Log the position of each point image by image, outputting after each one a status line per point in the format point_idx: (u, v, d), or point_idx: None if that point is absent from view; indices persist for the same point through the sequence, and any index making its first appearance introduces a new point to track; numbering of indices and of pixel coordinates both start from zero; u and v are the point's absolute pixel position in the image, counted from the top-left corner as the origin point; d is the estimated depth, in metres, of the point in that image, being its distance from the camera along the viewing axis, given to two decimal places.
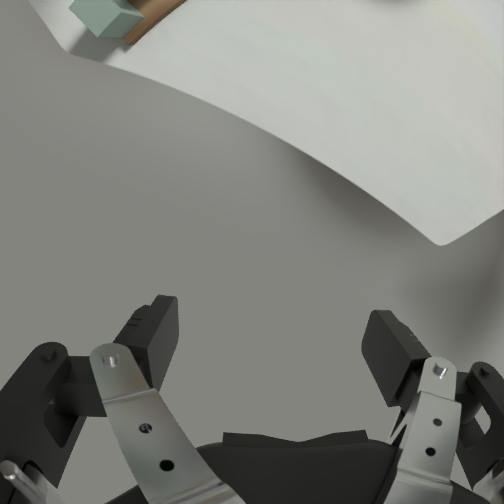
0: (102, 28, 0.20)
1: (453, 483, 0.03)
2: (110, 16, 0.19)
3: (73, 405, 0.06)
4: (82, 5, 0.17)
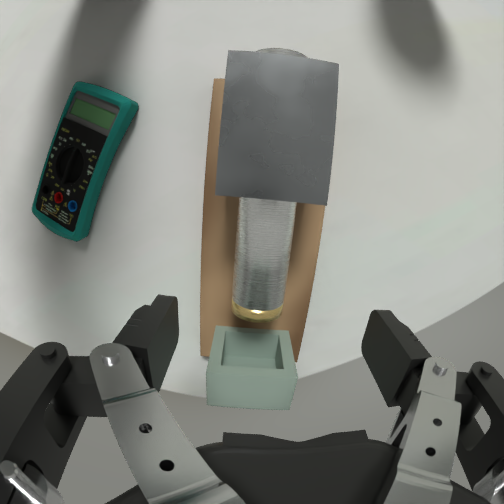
0: (288, 401, 0.21)
1: (453, 483, 0.03)
2: (286, 388, 0.21)
3: (73, 405, 0.06)
4: (227, 396, 0.21)
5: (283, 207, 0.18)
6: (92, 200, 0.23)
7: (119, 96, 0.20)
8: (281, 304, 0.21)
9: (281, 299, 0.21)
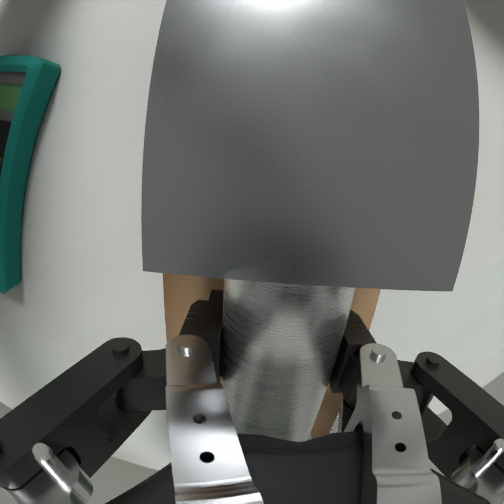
0: None
1: (453, 483, 0.03)
2: None
3: (144, 399, 0.07)
4: None
5: None
6: (8, 228, 0.12)
7: (28, 58, 0.08)
8: (308, 435, 0.10)
9: (309, 431, 0.10)
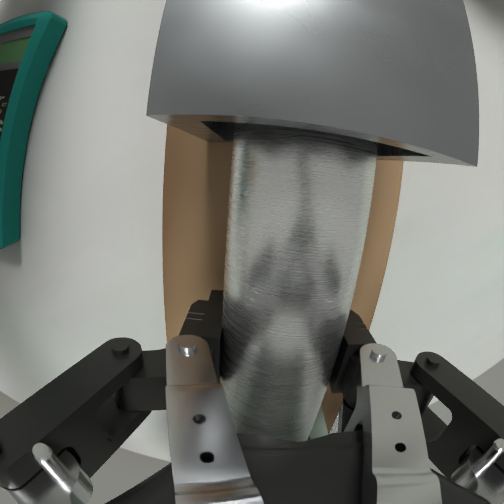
0: None
1: (453, 483, 0.03)
2: None
3: (144, 399, 0.07)
4: None
5: (337, 284, 0.07)
6: (9, 174, 0.11)
7: (37, 13, 0.07)
8: (308, 435, 0.10)
9: (309, 431, 0.10)
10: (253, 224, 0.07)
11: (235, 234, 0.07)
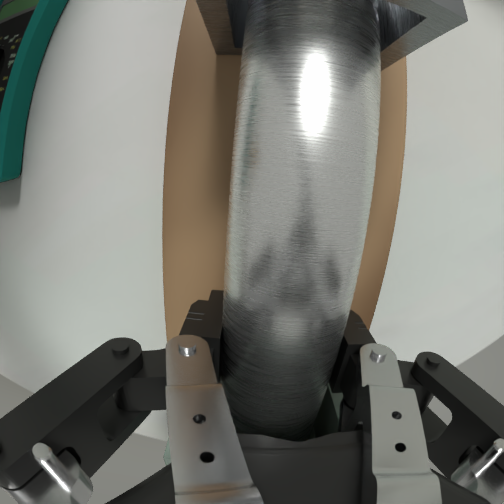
0: None
1: (453, 483, 0.03)
2: None
3: (144, 400, 0.07)
4: None
5: (337, 284, 0.07)
6: (16, 103, 0.10)
7: None
8: (308, 435, 0.10)
9: (309, 431, 0.10)
10: (253, 224, 0.07)
11: (235, 234, 0.07)
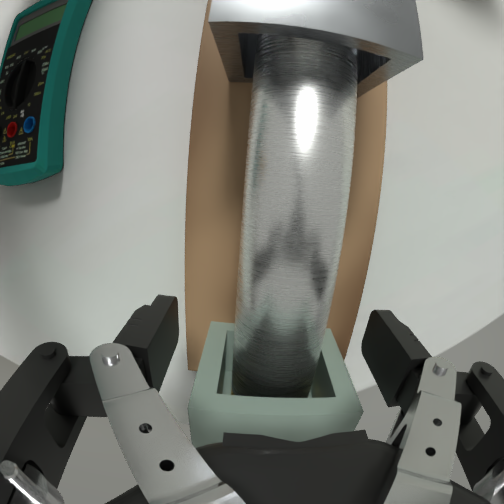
0: None
1: (453, 483, 0.03)
2: (339, 430, 0.10)
3: (73, 405, 0.06)
4: None
5: (322, 261, 0.10)
6: (54, 104, 0.12)
7: None
8: None
9: (307, 393, 0.12)
10: (262, 218, 0.09)
11: (248, 226, 0.10)
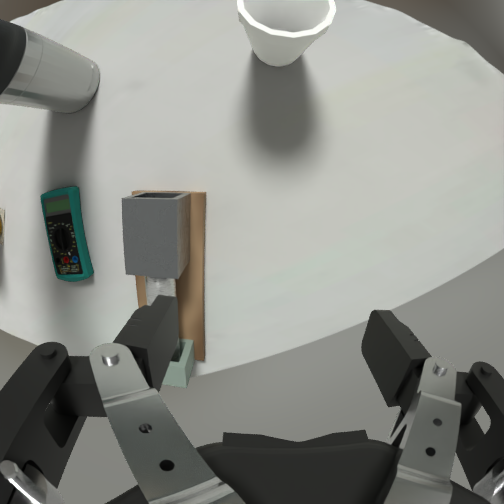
0: (184, 382, 0.36)
1: (453, 483, 0.03)
2: (180, 373, 0.36)
3: (73, 405, 0.06)
4: None
5: None
6: (83, 250, 0.38)
7: (64, 189, 0.34)
8: None
9: (176, 361, 0.38)
10: None
11: None
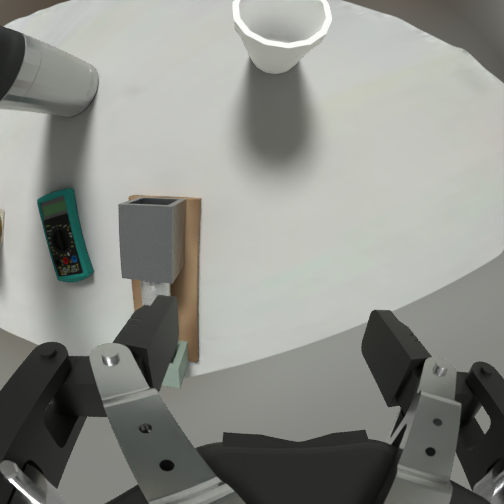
0: (177, 382, 0.37)
1: (453, 483, 0.03)
2: (173, 374, 0.37)
3: (73, 405, 0.06)
4: None
5: None
6: (82, 249, 0.38)
7: (60, 191, 0.35)
8: None
9: (170, 362, 0.39)
10: None
11: None
